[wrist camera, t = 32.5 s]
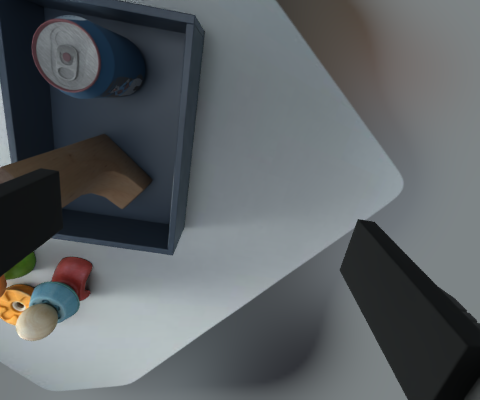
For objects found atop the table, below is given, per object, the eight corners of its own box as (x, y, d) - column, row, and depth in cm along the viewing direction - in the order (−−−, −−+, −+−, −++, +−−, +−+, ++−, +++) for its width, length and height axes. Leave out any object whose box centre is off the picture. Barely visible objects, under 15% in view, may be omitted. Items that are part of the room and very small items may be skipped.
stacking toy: (-2, 313, 51) (-74, 379, 39) (-19, 230, 45) (-110, 279, 33) (99, 325, 52) (58, 393, 40) (96, 244, 46) (47, 297, 34)
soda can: (95, 28, 34) (23, -3, 23) (152, 45, 34) (110, 23, 23) (90, 88, 36) (24, 87, 25) (144, 103, 37) (102, 108, 26)
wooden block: (154, 179, 41) (94, 242, 24) (133, 198, 42) (62, 271, 25) (105, 132, 38) (-1, 165, 21) (84, 153, 39) (-31, 201, 23)
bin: (42, 0, 34) (-15, -26, 26) (204, 31, 35) (195, 15, 27) (57, 209, 43) (20, 234, 36) (184, 228, 45) (173, 255, 37)
